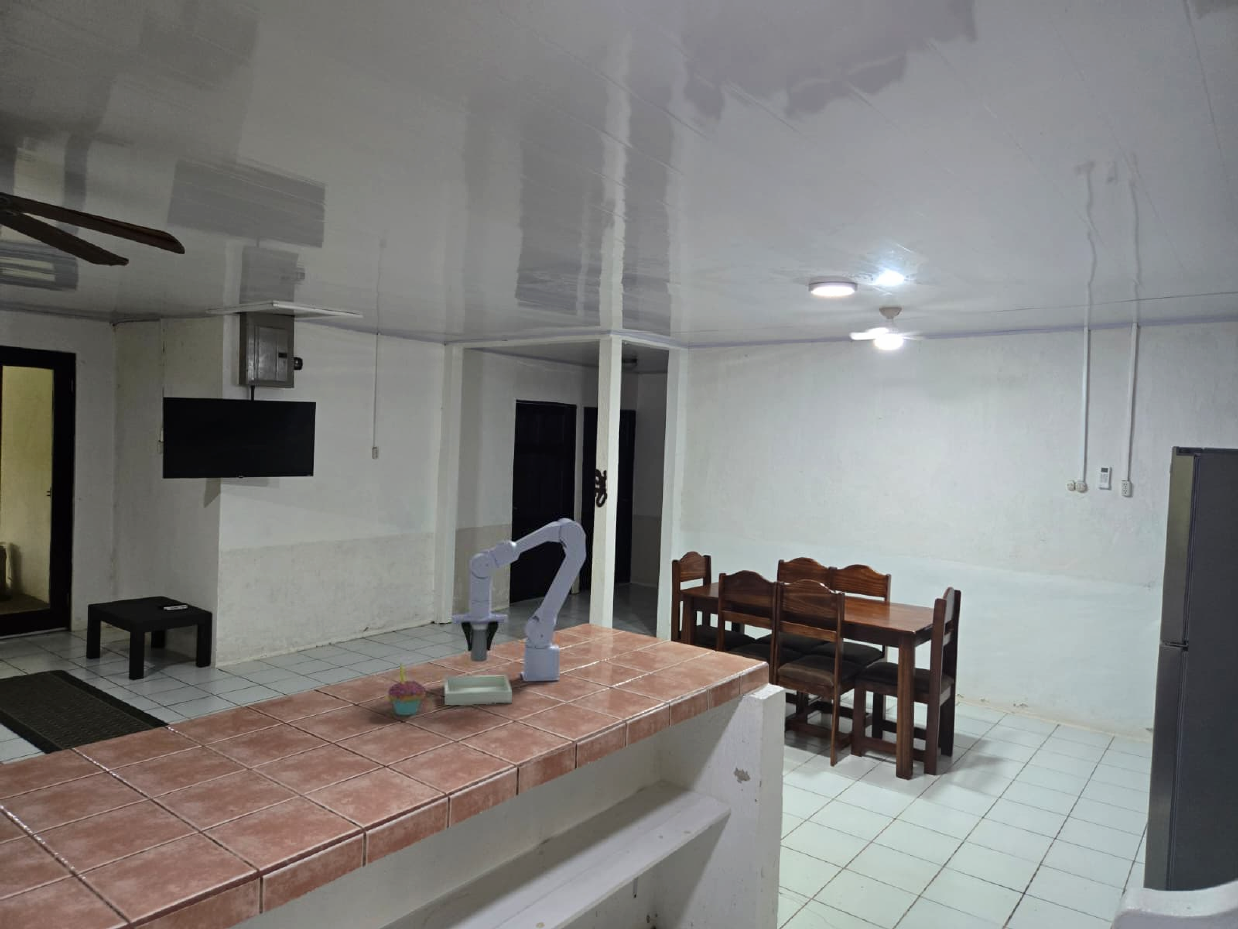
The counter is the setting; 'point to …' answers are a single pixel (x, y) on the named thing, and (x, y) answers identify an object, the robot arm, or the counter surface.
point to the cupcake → (406, 695)
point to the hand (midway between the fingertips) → (478, 650)
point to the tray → (477, 690)
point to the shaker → (479, 641)
